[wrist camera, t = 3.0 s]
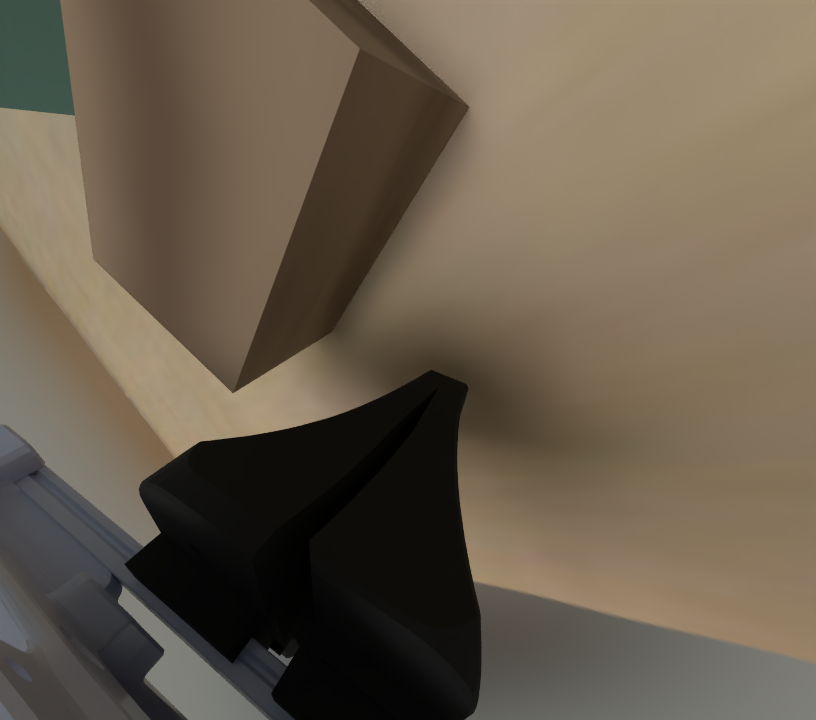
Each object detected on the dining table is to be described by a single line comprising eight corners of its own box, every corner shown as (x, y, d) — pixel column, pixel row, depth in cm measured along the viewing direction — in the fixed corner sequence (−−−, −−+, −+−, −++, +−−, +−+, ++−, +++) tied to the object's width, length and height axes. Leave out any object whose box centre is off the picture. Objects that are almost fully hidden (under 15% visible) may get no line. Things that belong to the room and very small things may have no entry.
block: (471, 108, 8) (359, 47, 4) (333, 330, 14) (233, 393, 10) (298, -57, 8) (24, -271, 4) (233, 234, 14) (93, 259, 10)
